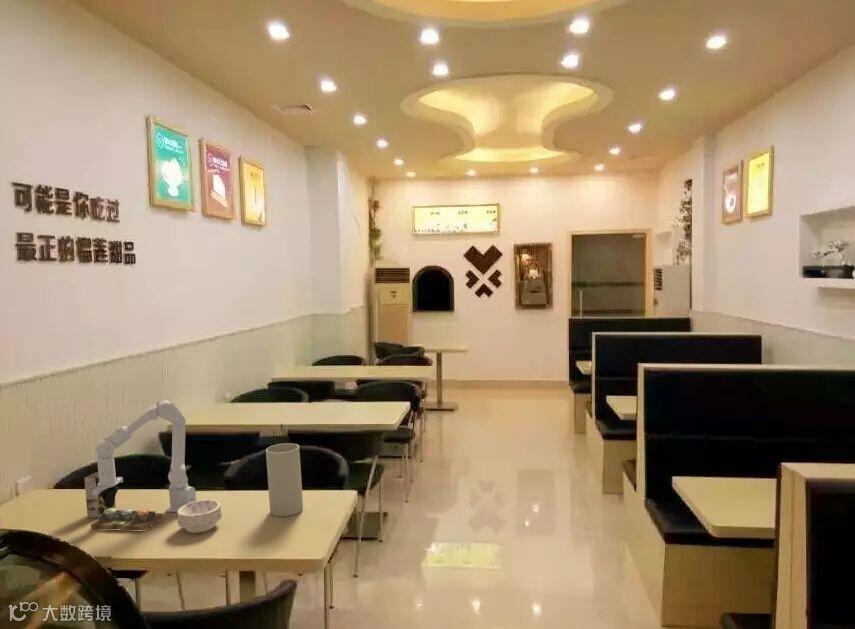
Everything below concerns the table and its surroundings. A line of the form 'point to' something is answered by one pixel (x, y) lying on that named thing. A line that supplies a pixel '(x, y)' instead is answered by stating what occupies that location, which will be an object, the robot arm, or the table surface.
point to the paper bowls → (199, 515)
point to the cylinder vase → (284, 479)
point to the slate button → (126, 512)
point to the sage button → (110, 511)
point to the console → (126, 521)
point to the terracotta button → (143, 513)
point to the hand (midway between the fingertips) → (110, 506)
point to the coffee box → (94, 497)
